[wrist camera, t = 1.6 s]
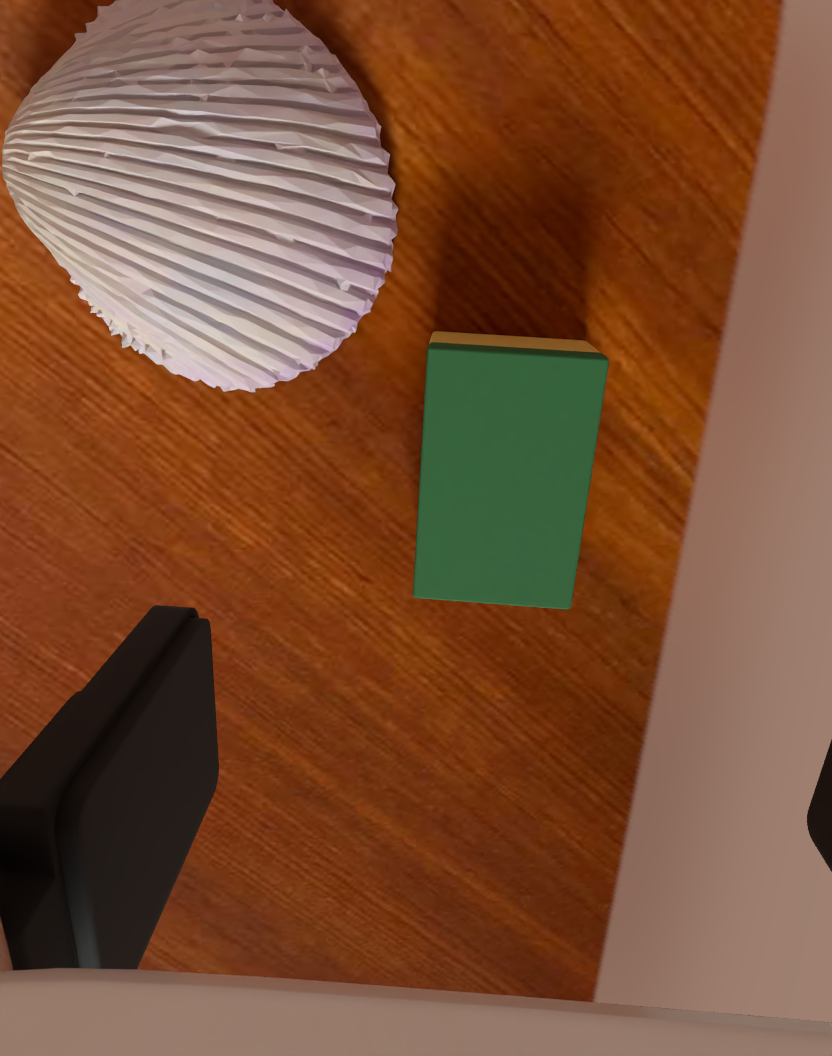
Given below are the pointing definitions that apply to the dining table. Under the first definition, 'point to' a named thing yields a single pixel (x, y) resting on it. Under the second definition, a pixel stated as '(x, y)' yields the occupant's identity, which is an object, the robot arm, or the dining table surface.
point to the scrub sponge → (505, 467)
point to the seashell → (208, 186)
